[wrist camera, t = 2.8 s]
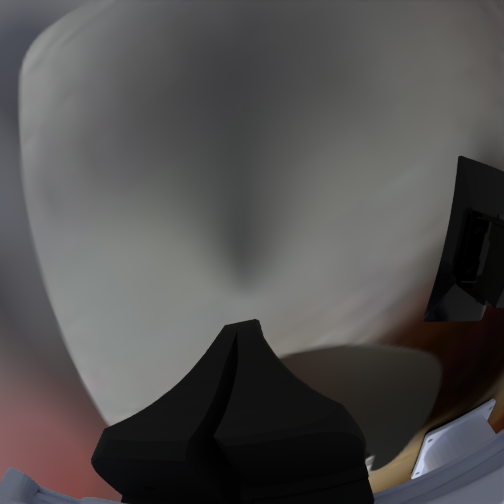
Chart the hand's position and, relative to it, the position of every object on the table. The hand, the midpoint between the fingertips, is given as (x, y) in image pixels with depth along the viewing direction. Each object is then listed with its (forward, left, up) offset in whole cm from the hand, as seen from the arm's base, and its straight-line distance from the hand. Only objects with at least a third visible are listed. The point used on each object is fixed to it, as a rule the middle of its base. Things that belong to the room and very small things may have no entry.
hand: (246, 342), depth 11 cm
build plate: (0, -13, -4) cm, 14 cm away
